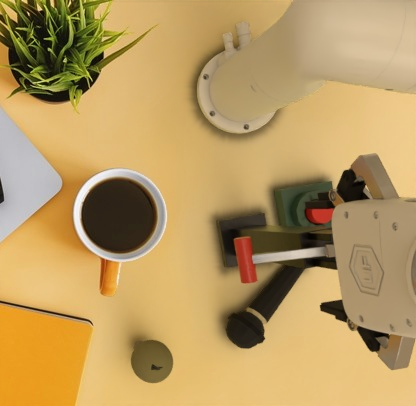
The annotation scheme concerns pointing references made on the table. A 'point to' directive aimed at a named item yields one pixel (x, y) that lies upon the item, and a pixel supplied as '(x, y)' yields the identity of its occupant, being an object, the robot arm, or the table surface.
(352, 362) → the table surface
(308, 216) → the button
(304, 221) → the button box
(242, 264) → the switch lever
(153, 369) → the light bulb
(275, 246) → the switch pillar
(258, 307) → the microphone
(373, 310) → the robot arm
